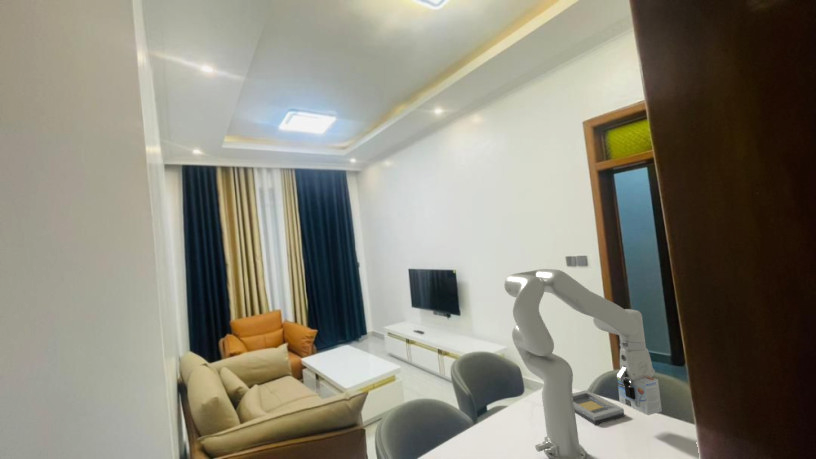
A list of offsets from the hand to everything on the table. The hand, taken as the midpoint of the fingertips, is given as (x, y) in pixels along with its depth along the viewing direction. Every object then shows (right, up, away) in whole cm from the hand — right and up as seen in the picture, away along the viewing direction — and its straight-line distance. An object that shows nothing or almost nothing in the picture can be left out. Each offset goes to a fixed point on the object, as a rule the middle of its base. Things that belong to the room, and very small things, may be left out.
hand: (638, 395), depth 111 cm
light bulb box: (0, -4, 0) cm, 4 cm away
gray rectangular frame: (-8, -14, +16) cm, 23 cm away
